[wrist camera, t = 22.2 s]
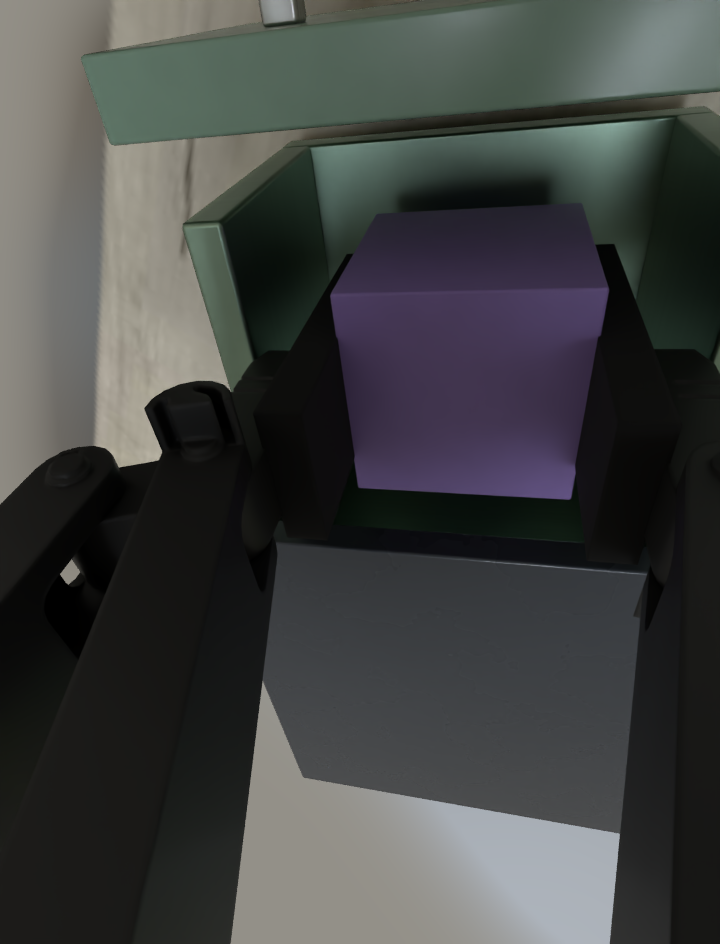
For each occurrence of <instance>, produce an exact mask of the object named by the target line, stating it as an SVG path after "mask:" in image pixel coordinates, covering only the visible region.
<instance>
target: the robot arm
mask: <svg viewBox="0 0 720 944" xmlns="http://www.w3.org/2000/svg"><path fill="white" fill-rule="evenodd" d="M595 246H596V249H597V252H598V255H599V259H600V262H601V265H602V268H603V271H604V275H605V278H606V281H607V284H608V287H609V294H608V300H607V305H606V311H605V316H604V321H603V327H602V332H601V336H599V337H598V340H597V346H596V351H595V357H594V363H593V368H592V374H591V379H590V385H589V390H588V396H587V402H586V407H585V413H584V418H583V424H582V429H581V435H580V440H579V446H578V452H577V457H576V463H575V471H576V479H577V487H578V495H579V503H580V511H581V519H582V527H583V535H584V543H585V551H586V559H587V561H594V562H606V563H619V564H632V565H638V562H639V559H640V556H641V553H642V550H643V547H644V544H645V542H646V546H647V551H648V555H649V559H650V564H651V565H650V568H649V571H648V574H647V577H646V580H645V582H644V585H643V588H642V591H641V594H640V597H639V600H638V603H637V606H636V609H635V612H634V614H633V616H634V617H637V618H640V626H639V637H638V647H637V658H636V669H635V680H634V690H633V701H632V712H631V722H630V733H629V744H628V754H627V765H626V776H625V787H624V797H623V808H622V819H621V829H620V840H619V851H618V863H617V872H616V883H615V894H614V904H613V915H612V927H611V937H610V944H720V373H719V371H718V369H717V367H716V365H715V364H714V363H713V362H712V361H710V360H709V359H707V358H706V357H705V356H703V355H702V354H700V353H699V352H698V351H696V350H695V349H654V348H653V345H652V343H651V340H650V337H649V335H648V332H647V329H646V327H645V324H644V321H643V319H642V316H641V313H640V311H639V308H638V305H637V303H636V300H635V297H634V295H633V292H632V289H631V287H630V284H629V281H628V279H627V276H626V273H625V271H624V268H623V265H622V263H621V260H620V257H619V255H618V252H617V249H616V247H615V244H596V245H595ZM352 256H353V254H346V256H345V258H344V259H343V261H342V263H341V265H340V266H339V268H338V270H337V271H336V273H335V275H334V276H333V278H332V280H331V281H330V283H329V285H328V286H327V288H326V290H325V292H324V293H323V295H322V297H321V298H320V300H319V302H318V303H317V305H316V307H315V308H314V310H313V312H312V314H311V315H310V317H309V319H308V320H307V322H306V324H305V325H304V327H303V329H302V330H301V332H300V334H299V336H298V337H297V339H296V341H295V342H294V344H293V346H292V347H291V349H290V350H268V351H267V352H266V353H264V354H263V355H261V356H260V357H258V358H257V359H256V360H254V361H253V362H251V363H250V365H249V366H248V368H247V369H246V371H245V372H244V374H243V375H242V377H241V380H239V381H238V383H237V384H236V386H235V387H234V389H233V392H230V390H229V389H228V388H227V387H226V386H224V385H223V384H220V383H216V382H213V381H194V382H189V383H184V384H180V385H177V386H175V387H172V388H170V389H167V390H165V391H163V392H162V393H160V394H159V395H157V396H156V397H154V398H153V399H152V400H151V401H150V402H149V403H148V405H147V406H146V407H145V408H144V409H145V412H146V414H147V416H148V419H149V421H150V423H151V426H152V428H153V430H154V433H155V435H156V438H157V440H158V442H159V445H160V447H161V449H162V454H161V457H160V459H159V460H158V461H154V462H149V463H143V464H137V465H131V466H126V467H120V468H119V467H118V465H117V463H116V461H115V459H114V457H113V455H112V454H111V453H110V452H109V451H108V450H107V449H105V448H101V447H96V446H88V447H77V448H72V449H71V450H66V451H63V452H60V453H59V454H58V455H56V456H54V457H52V458H50V459H48V460H46V461H45V462H44V463H43V464H41V465H40V466H39V467H38V468H36V469H35V470H34V471H33V472H32V473H31V474H30V475H29V476H28V477H27V478H26V479H25V480H24V481H23V482H22V483H21V484H20V485H19V486H18V487H17V488H16V489H15V490H14V491H13V492H12V493H11V494H10V495H9V496H8V497H7V498H6V499H5V500H4V501H3V503H1V504H0V944H230V943H231V935H232V926H233V918H234V910H235V902H236V894H237V886H238V877H239V869H240V861H241V853H242V845H243V836H244V828H245V820H246V812H247V804H248V795H249V787H250V778H251V771H252V763H253V754H254V746H255V738H256V730H257V720H258V713H259V704H260V697H261V688H262V680H263V672H264V664H265V656H266V648H267V639H268V631H269V623H270V615H271V607H272V598H273V590H274V582H275V574H276V566H277V557H278V553H277V546H276V542H275V539H274V536H273V534H274V531H275V529H276V527H277V524H278V522H279V520H280V517H282V521H283V524H284V528H285V531H286V535H287V537H289V538H302V539H315V540H328V537H329V534H330V531H331V528H332V525H333V522H334V518H335V515H336V512H337V509H338V506H339V503H340V500H341V497H342V494H343V491H344V488H345V485H346V482H347V479H348V476H349V473H350V469H351V466H352V463H353V460H354V457H355V455H354V448H353V441H352V434H351V427H350V420H349V413H348V406H347V400H346V393H345V386H344V379H343V372H342V365H341V358H340V351H339V344H338V338H337V337H336V332H335V325H334V318H333V312H332V305H331V298H330V295H331V293H332V291H333V289H334V287H335V286H336V284H337V282H338V280H339V278H340V277H341V275H342V273H343V271H344V270H345V268H346V266H347V264H348V263H349V261H350V259H351V257H352ZM71 559H72V560H73V562H74V563H75V565H76V566H77V568H78V569H79V570H80V573H79V575H78V576H77V578H76V579H75V580H73V581H72V582H71V583H70V584H69V585H68V584H67V583H65V581H64V580H63V578H62V577H61V575H60V573H61V572H62V571H63V569H64V568H65V567H66V566H67V564H68V563H69V562H70V560H71Z"/></svg>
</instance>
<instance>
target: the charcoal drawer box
mask: <svg viewBox="0 0 720 944" xmlns="http://www.w3.org/2000/svg"><path fill="white" fill-rule="evenodd" d="M273 536H274V539H275V542H276V546H277V553H278V557H277V566H276V574H275V582H274V590H273V598H272V607H271V615H270V623H269V631H268V639H267V648H266V656H265V664H264V672H263V682H264V685H265V687H266V689H267V692H268V694H269V697H270V699H271V702H272V704H273V706H274V709H275V711H276V713H277V716H278V718H279V720H280V723H281V725H282V728H283V730H284V733H285V735H286V737H287V740H288V742H289V745H290V747H291V749H292V752H293V754H294V757H295V759H296V761H297V764H298V766H299V768H300V771H301V773H302V776H303V777H304V778H310V779H315V780H321V781H326V782H332V783H338V784H343V785H349V786H354V787H360V788H366V789H372V790H377V791H383V792H388V793H395V794H400V795H405V796H411V797H417V798H422V799H428V800H434V801H439V802H446V803H451V804H457V805H462V806H468V807H473V808H479V809H484V810H491V811H496V812H501V813H507V814H513V815H518V816H524V817H530V818H535V819H541V820H547V821H552V822H558V823H564V824H569V825H575V826H581V827H586V828H592V829H598V830H603V831H609V832H614V833H620V829H621V819H622V808H623V797H624V787H625V776H626V765H627V754H628V744H629V733H630V722H631V712H632V701H633V690H634V680H635V669H636V658H637V647H638V637H639V626H640V618H637V617H634V616H633V614H634V612H635V609H636V606H637V603H638V600H639V597H640V594H641V591H642V588H643V585H644V582H645V580H646V577H647V574H648V571H649V568H650V565H651V564H650V559H649V555H648V551H647V547H643V550H642V553H641V556H640V559H639V562H638V565H632V564H619V563H606V562H594V561H587V559H586V551H585V543H584V542H572V541H558V540H544V539H530V538H516V537H502V536H489V535H475V534H461V533H447V532H433V531H419V530H405V529H391V528H378V527H364V526H350V525H336V524H333V525H332V528H331V531H330V534H329V537H328V540H315V539H302V538H289V537H287V535H286V531H285V528H284V524H283V521H281V520H279V522H278V524H277V527H276V529H275V531H274V534H273Z"/></svg>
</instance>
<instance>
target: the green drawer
mask: <svg viewBox="0 0 720 944" xmlns="http://www.w3.org/2000/svg"><path fill="white" fill-rule="evenodd" d="M259 6H260V12H261V18H262V22H259V23H251V24H245V25H240V26H235V27H229V28H224V29H219V30H213V31H208V32H203V33H197V34H192V35H187V36H181V37H176V38H171V39H165V40H160V41H155V42H149V43H144V44H139V45H133V46H128V47H123V48H117V49H112V50H107V51H101V52H96V53H91V54H86V55H83V56H82V57H81V60H82V64H83V66H84V69H85V72H86V75H87V78H88V81H89V84H90V86H91V90H92V92H93V95H94V98H95V101H96V104H97V107H98V110H99V112H100V115H101V118H102V121H103V124H104V127H105V130H106V133H107V136H108V139H109V142H110V143H111V144H112V145H127V144H138V143H149V142H160V141H171V140H182V139H194V138H205V137H216V136H227V135H238V134H249V133H261V132H272V131H283V130H294V129H305V128H316V127H328V126H339V125H350V124H361V123H372V122H384V121H395V120H406V119H417V118H428V117H439V116H451V115H462V114H473V113H484V112H495V111H506V110H518V109H529V108H540V107H551V106H562V105H573V104H585V103H596V102H607V101H618V100H629V99H641V98H652V97H663V96H674V95H685V94H696V93H708V92H719V91H720V0H421V1H414V2H406V3H399V4H391V5H384V6H377V7H369V8H362V9H355V10H347V11H340V12H332V13H325V14H318V15H310V16H306V9H305V2H304V0H259ZM570 203H582V204H583V207H584V211H585V214H586V217H587V220H588V223H589V227H590V230H591V233H592V236H593V239H594V243H595V245H596V244H615V247H616V249H617V252H618V255H619V257H620V260H621V263H622V265H623V268H624V271H625V273H626V276H627V279H628V281H629V284H630V287H631V289H632V292H633V295H634V297H635V300H636V303H637V305H638V308H639V311H640V313H641V316H642V319H643V321H644V324H645V327H646V329H647V332H648V335H649V337H650V340H651V343H652V345H653V348H654V349H695V350H696V351H698V352H699V353H700V354H702V355H703V356H705V357H706V358H707V359H709V360H710V361H712V362H713V363H714V364H715V365H716V367H717V369H718V371H719V373H720V116H719V115H717V114H716V113H714V112H713V111H711V110H710V109H709V108H707V107H705V106H701V107H689V108H677V109H665V110H654V111H642V112H630V113H618V114H606V115H595V116H583V117H571V118H559V119H547V120H536V121H524V122H512V123H500V124H488V125H477V126H465V127H453V128H441V129H429V130H418V131H406V132H394V133H382V134H370V135H359V136H347V137H335V138H323V139H311V140H300V141H291V142H290V143H289V144H287V145H286V146H285V147H283V149H281V150H280V151H278V152H277V153H276V154H274V155H273V156H272V157H271V158H269V159H268V160H267V161H265V162H264V163H263V164H261V165H260V166H259V167H257V168H256V169H255V170H253V171H252V172H251V173H249V174H248V175H247V176H245V177H244V178H243V179H241V180H240V181H239V182H238V183H236V184H235V185H234V186H232V187H231V188H230V189H228V190H227V191H226V192H224V193H223V194H222V195H220V196H219V197H218V198H216V199H215V200H214V201H212V202H211V203H210V204H208V205H207V206H206V207H205V208H203V209H202V210H201V211H199V212H198V213H197V214H195V215H194V216H193V217H191V218H190V219H189V220H187V221H186V222H185V223H183V232H184V235H185V239H186V242H187V245H188V249H189V252H190V255H191V259H192V262H193V265H194V269H195V272H196V276H197V279H198V282H199V286H200V289H201V292H202V296H203V299H204V302H205V306H206V309H207V312H208V316H209V319H210V322H211V326H212V329H213V333H214V336H215V339H216V343H217V346H218V349H219V353H220V356H221V359H222V363H223V366H224V369H225V373H226V376H227V379H228V383H229V386H230V390H231V392H233V389H234V387H235V386H236V384H237V383H238V381H239V380H241V377H242V375H243V374H244V372H245V371H246V369H247V368H248V366H249V365H250V363H251V362H253V361H254V360H256V359H257V358H258V357H260V356H261V355H263V354H264V353H266V352H267V351H268V350H290V349H291V347H292V346H293V344H294V342H295V341H296V339H297V337H298V336H299V334H300V332H301V330H302V329H303V327H304V325H305V324H306V322H307V320H308V319H309V317H310V315H311V314H312V312H313V310H314V308H315V307H316V305H317V303H318V302H319V300H320V298H321V297H322V295H323V293H324V292H325V290H326V288H327V286H328V285H329V283H330V281H331V280H332V278H333V276H334V275H335V273H336V271H337V270H338V268H339V266H340V265H341V263H342V261H343V259H344V258H345V256H346V254H354V252H355V250H356V249H357V247H358V245H359V243H360V242H361V240H362V238H363V236H364V235H365V233H366V231H367V229H368V228H369V226H370V224H371V222H372V221H373V219H374V217H375V215H376V214H382V213H401V212H420V211H439V210H458V209H476V208H495V207H514V206H533V205H551V204H570ZM280 520H281V521H282V517H280ZM333 524H336V525H350V526H364V527H378V528H391V529H405V530H419V531H433V532H447V533H461V534H475V535H489V536H502V537H516V538H530V539H544V540H558V541H572V542H584V535H583V527H582V519H581V511H580V503H579V495H578V487H577V479H576V475H575V480H574V486H573V491H572V496H571V499H569V500H567V499H549V498H531V497H513V496H495V495H477V494H459V493H442V492H424V491H406V490H388V489H370V488H359V487H358V483H357V476H356V469H355V462H354V460H353V463H352V466H351V469H350V473H349V476H348V479H347V482H346V485H345V488H344V491H343V494H342V497H341V500H340V503H339V506H338V509H337V512H336V515H335V518H334V522H333ZM644 547H647V546H646V542H645V544H644Z"/></svg>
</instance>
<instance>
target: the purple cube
mask: <svg viewBox="0 0 720 944" xmlns="http://www.w3.org/2000/svg"><path fill="white" fill-rule="evenodd" d="M608 294H609V287H608V284H607V281H606V278H605V275H604V271H603V268H602V265H601V262H600V259H599V255H598V252H597V249H596V246H595V243H594V239H593V236H592V233H591V230H590V227H589V223H588V220H587V217H586V214H585V211H584V207H583V204H582V203H570V204H551V205H533V206H514V207H495V208H476V209H458V210H439V211H420V212H401V213H382V214H376V215H375V217H374V219H373V221H372V222H371V224H370V226H369V228H368V229H367V231H366V233H365V235H364V236H363V238H362V240H361V242H360V243H359V245H358V247H357V249H356V250H355V252H354V254H353V256H352V257H351V259H350V261H349V263H348V264H347V266H346V268H345V270H344V271H343V273H342V275H341V277H340V278H339V280H338V282H337V284H336V286H335V287H334V289H333V291H332V293H331V295H330V298H331V305H332V312H333V318H334V325H335V332H336V337H337V338H338V344H339V351H340V358H341V365H342V372H343V379H344V386H345V393H346V400H347V406H348V413H349V420H350V427H351V434H352V441H353V448H354V455H355V457H354V462H355V469H356V476H357V483H358V487H359V488H370V489H388V490H406V491H424V492H442V493H459V494H477V495H495V496H513V497H531V498H549V499H567V500H569V499H571V496H572V491H573V486H574V480H575V475H576V471H575V463H576V457H577V452H578V446H579V440H580V435H581V429H582V424H583V418H584V413H585V407H586V402H587V396H588V390H589V385H590V379H591V374H592V368H593V363H594V357H595V351H596V346H597V340H598V337H599V336H601V332H602V327H603V321H604V316H605V311H606V305H607V300H608Z"/></svg>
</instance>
